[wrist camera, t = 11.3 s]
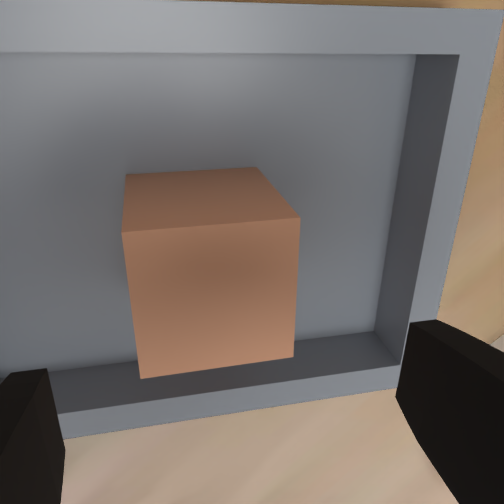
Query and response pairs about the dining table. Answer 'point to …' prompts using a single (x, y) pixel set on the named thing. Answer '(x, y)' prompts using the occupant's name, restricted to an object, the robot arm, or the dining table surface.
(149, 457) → the dining table surface
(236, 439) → the dining table surface
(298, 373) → the tray
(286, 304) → the block
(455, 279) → the dining table surface
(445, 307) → the dining table surface
